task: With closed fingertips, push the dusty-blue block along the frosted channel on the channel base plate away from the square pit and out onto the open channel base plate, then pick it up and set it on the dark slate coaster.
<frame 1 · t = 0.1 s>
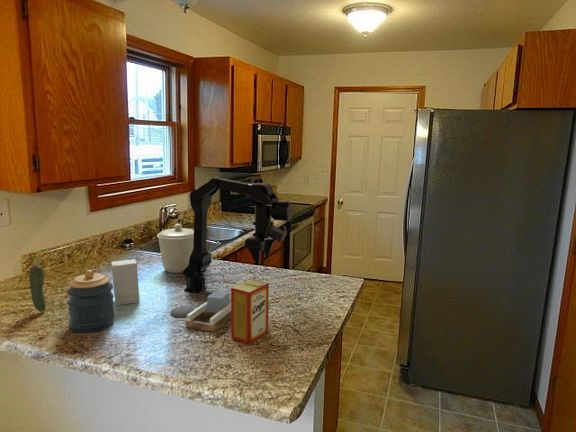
hand: (262, 261, 151), 15 cm above the worktop, tool pointing down, fingers open, 9 cm apart
channel walls: (211, 311, 135), on the channel base plate, point 2 cm above the worktop
block: (218, 308, 139), point 2 cm above the worktop, touching channel base plate
baking soda box: (250, 335, 125), on the worktop
canister 2: (92, 324, 131), on the worktop
canister: (179, 270, 187), on the worktop
channel base plate: (219, 314, 140), on the worktop
coaster: (182, 312, 141), on the worktop
skincare box: (126, 302, 149), on the worktop
vegetable: (40, 312, 139), on the worktop
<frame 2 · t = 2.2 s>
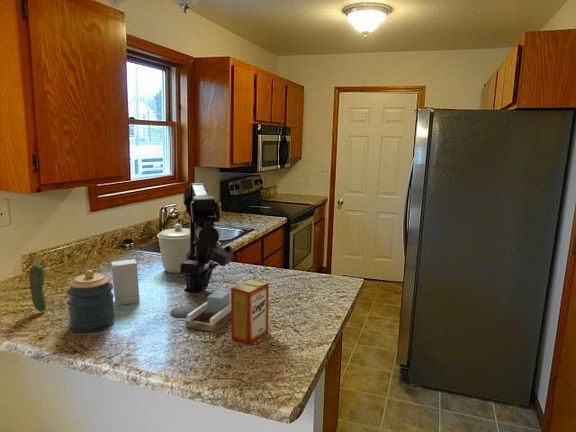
hand: (205, 287, 130), 12 cm above the worktop, tool pointing down, fingers closed
nothing on the worktop moved.
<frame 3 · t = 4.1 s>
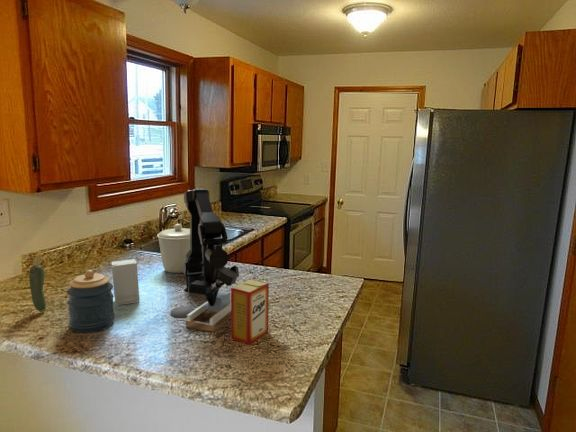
hand: (212, 305, 135), 5 cm above the worktop, tool pointing down, fingers closed
block: (219, 308, 140), point 2 cm above the worktop, touching channel base plate, gripper
everything else where it was.
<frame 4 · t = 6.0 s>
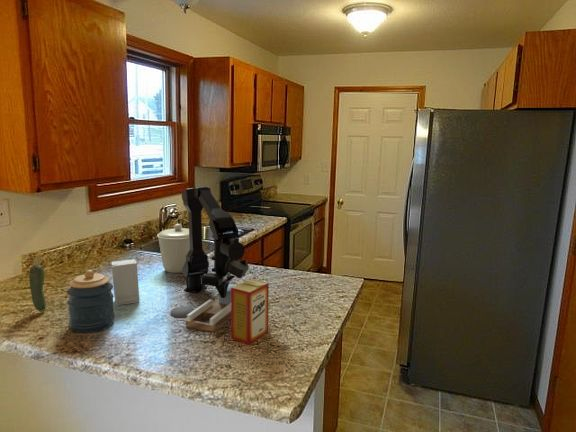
hand: (223, 297, 142), 5 cm above the worktop, tool pointing down, fingers closed
block: (229, 301, 146), point 2 cm above the worktop, touching channel base plate, gripper
everything else where it was.
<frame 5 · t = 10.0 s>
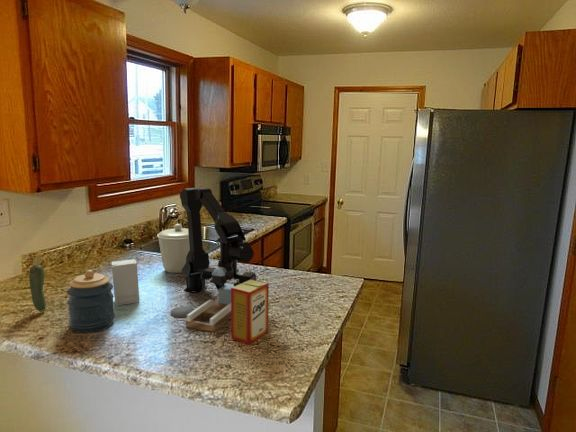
hand: (229, 299, 146), 3 cm above the worktop, tool pointing down, fingers closed on block, 5 cm apart
block: (228, 301, 146), point 2 cm above the worktop, touching channel base plate, gripper
everything else where it was.
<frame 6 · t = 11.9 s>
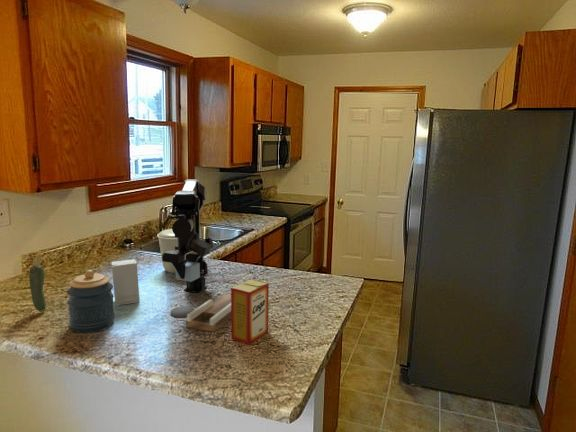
hand: (187, 276, 139), 13 cm above the worktop, tool pointing down, fingers closed on block, 5 cm apart
block: (188, 278, 139), point 12 cm above the worktop, touching gripper
everything else where it was.
when the fingers open (3 cm above the worktop, at t = 14.3 s): block drops 1 cm, resting on coaster.
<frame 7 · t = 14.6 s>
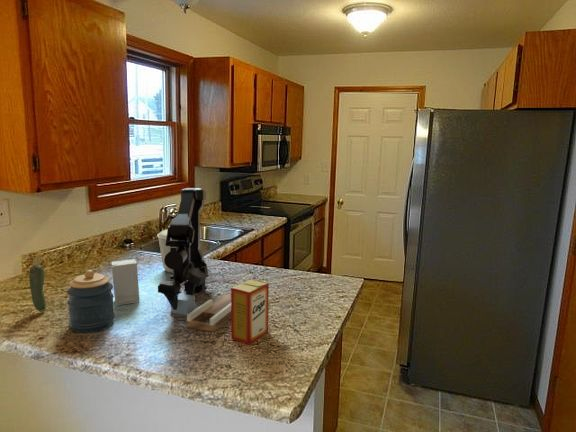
hand: (182, 305, 140), 3 cm above the worktop, tool pointing down, fingers open, 8 cm apart
block: (183, 311, 141), point 1 cm above the worktop, touching coaster
everything else where it was.
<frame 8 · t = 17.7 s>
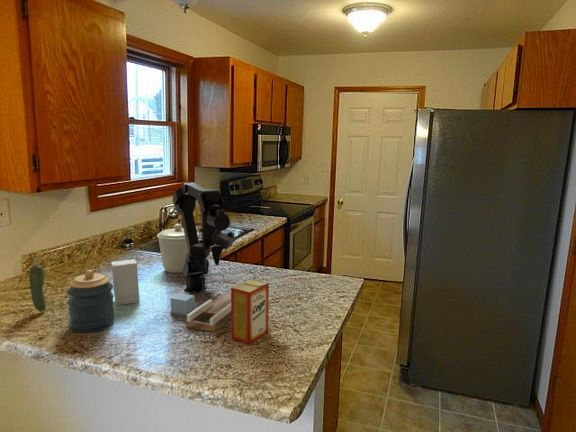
hand: (210, 268, 148), 13 cm above the worktop, tool pointing down, fingers open, 9 cm apart
nothing on the worktop moved.
at the end: block 0.1 cm from the coaster (horizontally); block point 0.6 cm above the worktop; block tilted 0° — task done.
